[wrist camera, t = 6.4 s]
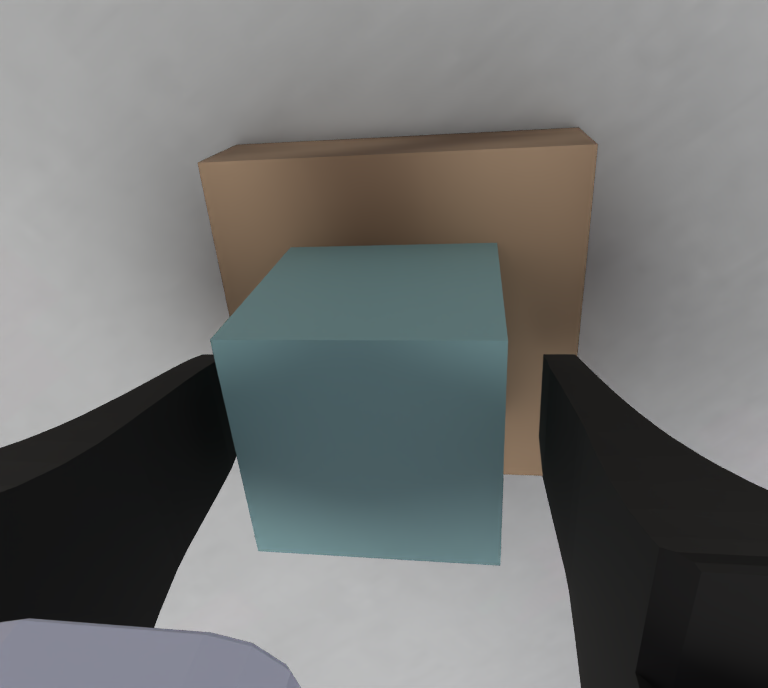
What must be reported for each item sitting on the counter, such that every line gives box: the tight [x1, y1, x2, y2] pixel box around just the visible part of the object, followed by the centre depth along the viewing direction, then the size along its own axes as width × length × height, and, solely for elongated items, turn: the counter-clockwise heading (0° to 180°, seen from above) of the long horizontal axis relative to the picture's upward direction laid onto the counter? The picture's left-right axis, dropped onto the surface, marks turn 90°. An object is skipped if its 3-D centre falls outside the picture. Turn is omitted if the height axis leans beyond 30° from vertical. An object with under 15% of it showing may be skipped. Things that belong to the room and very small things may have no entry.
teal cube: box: [210, 243, 508, 565], centre depth 13 cm, size 5×5×5 cm
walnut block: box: [198, 128, 598, 476], centre depth 16 cm, size 9×9×3 cm
